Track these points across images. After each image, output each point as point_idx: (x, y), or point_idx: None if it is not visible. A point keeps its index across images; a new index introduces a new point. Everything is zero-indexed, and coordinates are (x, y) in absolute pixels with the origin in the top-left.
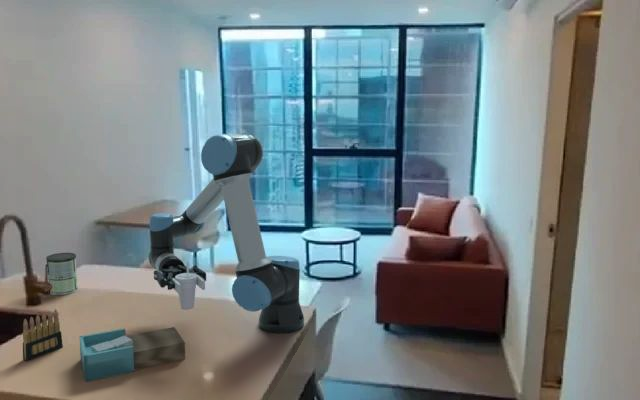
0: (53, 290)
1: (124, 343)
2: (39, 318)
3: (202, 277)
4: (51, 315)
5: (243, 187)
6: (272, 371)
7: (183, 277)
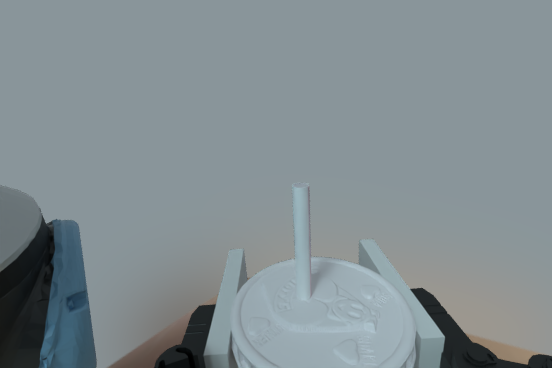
0: None
1: None
2: None
3: (185, 342)
4: None
5: None
6: (185, 315)
7: (341, 289)
